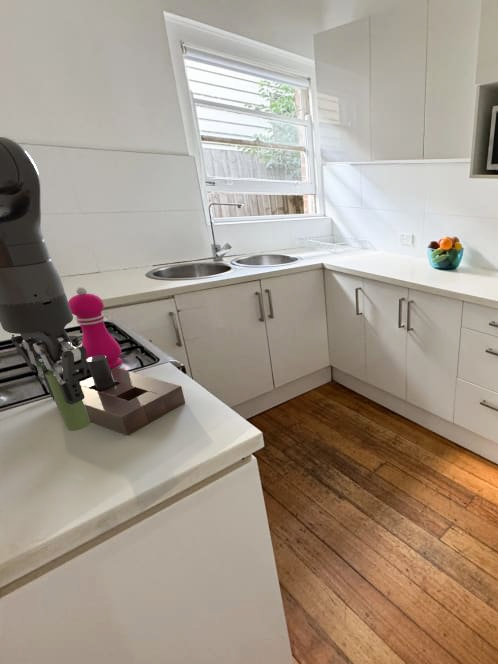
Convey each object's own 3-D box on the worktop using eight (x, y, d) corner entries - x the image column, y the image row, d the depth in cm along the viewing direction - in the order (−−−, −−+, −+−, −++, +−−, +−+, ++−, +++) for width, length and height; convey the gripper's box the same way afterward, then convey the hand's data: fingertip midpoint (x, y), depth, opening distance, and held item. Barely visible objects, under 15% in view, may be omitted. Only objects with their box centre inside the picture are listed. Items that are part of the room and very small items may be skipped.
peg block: (127, 435, 68) (121, 417, 66) (58, 410, 74) (51, 393, 73) (185, 402, 78) (181, 385, 77) (120, 383, 84) (115, 367, 83)
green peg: (62, 428, 61) (40, 373, 57) (83, 418, 64) (63, 365, 60) (74, 432, 60) (53, 377, 56) (94, 422, 63) (75, 369, 59)
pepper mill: (133, 364, 93) (109, 284, 85) (106, 378, 86) (78, 293, 78) (108, 360, 94) (82, 281, 86) (79, 374, 87) (48, 290, 79)
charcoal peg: (98, 404, 77) (82, 360, 73) (113, 397, 79) (99, 353, 75) (108, 407, 76) (92, 363, 72) (123, 400, 78) (109, 356, 74)
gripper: (-37, 293, 52) (12, 400, 59) (26, 309, 48) (70, 422, 55) (30, 281, 59) (67, 379, 66) (91, 294, 54) (123, 397, 61)
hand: (68, 398), depth 60 cm, fingers closed on green peg, 3 cm apart
